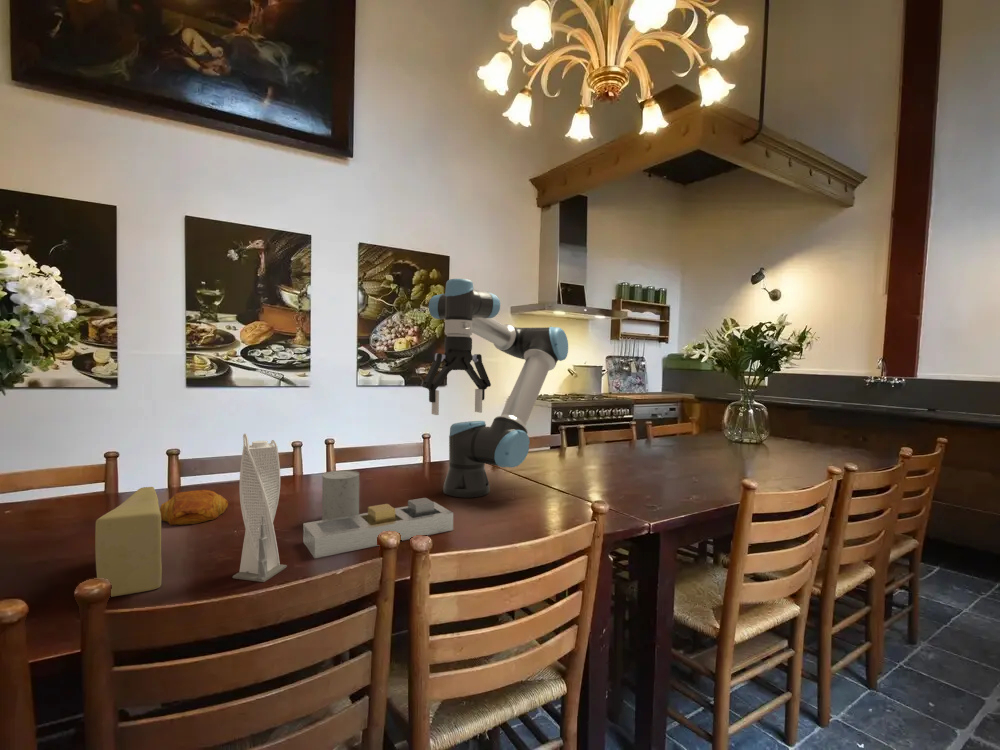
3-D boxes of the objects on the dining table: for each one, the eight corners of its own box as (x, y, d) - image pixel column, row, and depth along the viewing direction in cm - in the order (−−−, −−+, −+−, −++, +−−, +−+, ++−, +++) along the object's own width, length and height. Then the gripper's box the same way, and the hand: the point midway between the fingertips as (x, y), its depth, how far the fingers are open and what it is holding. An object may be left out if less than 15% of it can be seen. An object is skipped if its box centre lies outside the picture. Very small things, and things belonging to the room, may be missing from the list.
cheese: (122, 555, 107) (122, 486, 106) (176, 547, 111) (175, 482, 111) (94, 601, 87) (93, 517, 86) (160, 590, 91) (160, 510, 91)
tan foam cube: (367, 526, 121) (368, 506, 121) (387, 523, 124) (387, 503, 124) (375, 533, 117) (375, 512, 117) (395, 529, 120) (395, 508, 120)
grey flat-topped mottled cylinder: (324, 527, 125) (324, 480, 125) (319, 516, 134) (319, 472, 133) (362, 522, 130) (363, 476, 129) (355, 512, 138) (355, 469, 138)
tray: (303, 542, 116) (303, 512, 115) (433, 518, 135) (434, 492, 134) (314, 558, 107) (314, 526, 106) (453, 530, 126) (453, 503, 125)
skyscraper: (226, 577, 97) (226, 436, 96) (254, 560, 105) (254, 430, 104) (264, 582, 95) (264, 438, 94) (290, 565, 103) (290, 432, 102)
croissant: (169, 519, 136) (164, 491, 135) (231, 507, 141) (227, 479, 141) (152, 536, 122) (146, 505, 122) (222, 521, 128) (217, 491, 127)
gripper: (422, 334, 125) (421, 417, 126) (503, 337, 139) (502, 412, 140) (410, 334, 131) (409, 414, 132) (489, 338, 145) (488, 409, 146)
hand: (457, 413), depth 136 cm, fingers open, 13 cm apart
